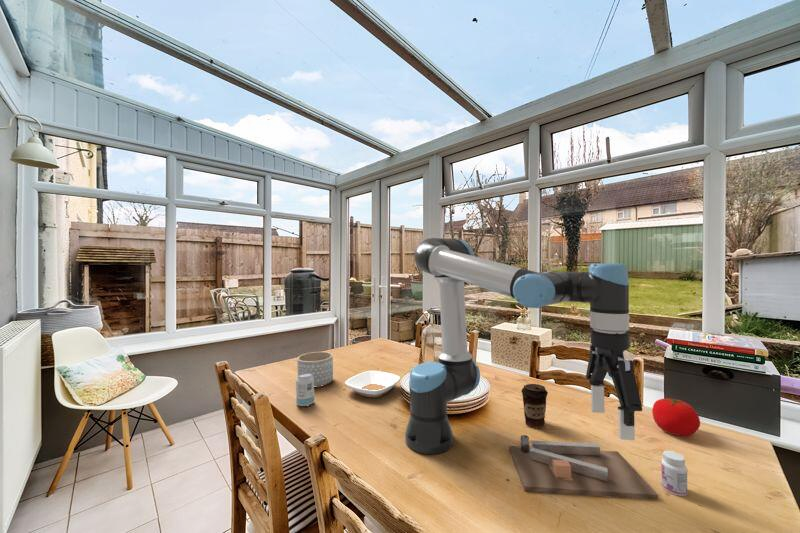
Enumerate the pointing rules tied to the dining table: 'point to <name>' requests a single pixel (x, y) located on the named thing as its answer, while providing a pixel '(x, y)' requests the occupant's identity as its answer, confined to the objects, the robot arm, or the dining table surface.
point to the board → (583, 477)
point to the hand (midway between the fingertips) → (611, 424)
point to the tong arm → (575, 464)
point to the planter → (317, 366)
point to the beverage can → (304, 389)
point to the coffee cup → (534, 405)
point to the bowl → (372, 382)
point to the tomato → (675, 417)
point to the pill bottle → (674, 473)
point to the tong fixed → (561, 447)
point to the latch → (562, 468)
